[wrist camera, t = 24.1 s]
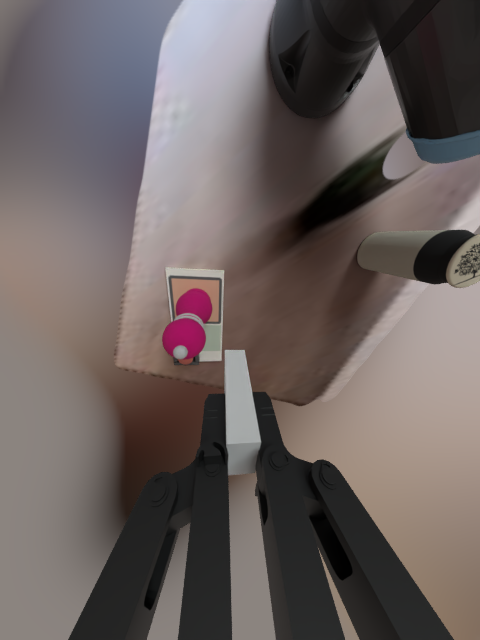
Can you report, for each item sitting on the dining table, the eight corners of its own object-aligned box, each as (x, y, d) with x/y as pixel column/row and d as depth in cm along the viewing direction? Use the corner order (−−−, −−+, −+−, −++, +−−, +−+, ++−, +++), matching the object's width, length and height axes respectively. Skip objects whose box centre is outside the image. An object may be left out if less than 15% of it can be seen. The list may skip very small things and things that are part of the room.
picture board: (223, 270, 38) (224, 273, 35) (221, 358, 48) (221, 366, 46) (166, 267, 37) (162, 270, 34) (176, 359, 47) (173, 367, 44)
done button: (193, 346, 44) (192, 352, 41) (194, 358, 45) (193, 364, 43) (178, 346, 43) (176, 352, 41) (180, 358, 45) (178, 364, 42)
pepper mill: (191, 320, 41) (170, 386, 23) (173, 294, 38) (134, 347, 20) (218, 308, 41) (218, 365, 23) (202, 280, 37) (188, 321, 20)
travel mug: (357, 237, 38) (458, 238, 22) (392, 227, 38) (518, 221, 22) (354, 272, 42) (440, 295, 26) (387, 264, 42) (492, 281, 26)
